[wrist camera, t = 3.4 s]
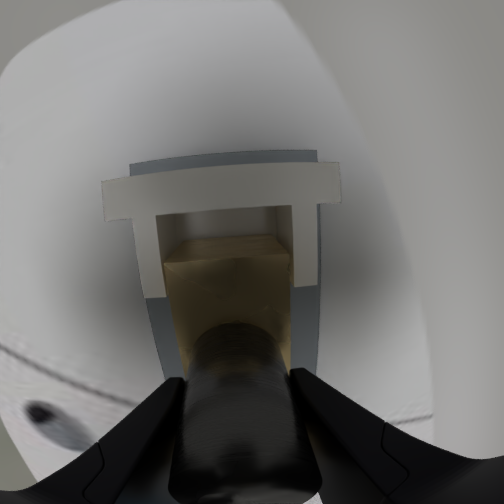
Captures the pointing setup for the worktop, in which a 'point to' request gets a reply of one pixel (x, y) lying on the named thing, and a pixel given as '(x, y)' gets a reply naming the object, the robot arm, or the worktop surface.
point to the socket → (224, 211)
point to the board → (301, 298)
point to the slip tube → (236, 376)
